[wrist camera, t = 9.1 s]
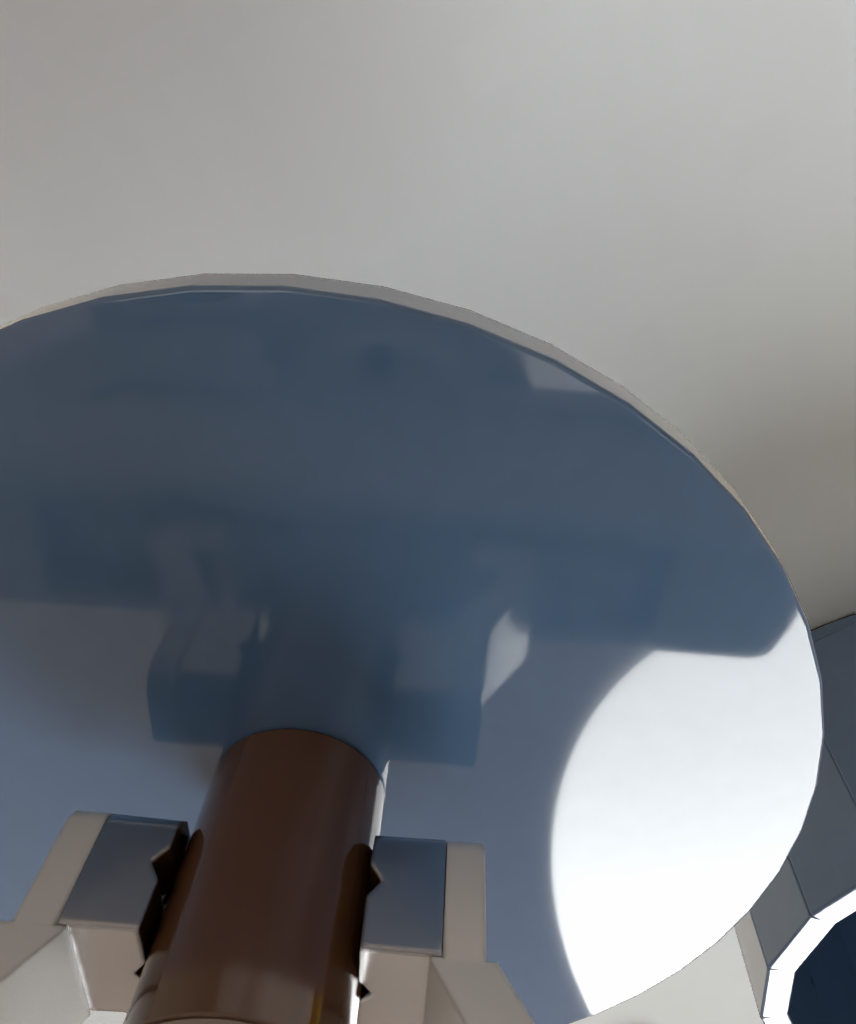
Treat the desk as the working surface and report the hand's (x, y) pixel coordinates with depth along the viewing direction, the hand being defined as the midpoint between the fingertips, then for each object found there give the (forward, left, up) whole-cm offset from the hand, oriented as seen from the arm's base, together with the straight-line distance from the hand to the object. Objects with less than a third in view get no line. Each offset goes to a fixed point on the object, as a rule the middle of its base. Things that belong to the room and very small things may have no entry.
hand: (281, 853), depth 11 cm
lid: (0, 0, -2) cm, 2 cm away
